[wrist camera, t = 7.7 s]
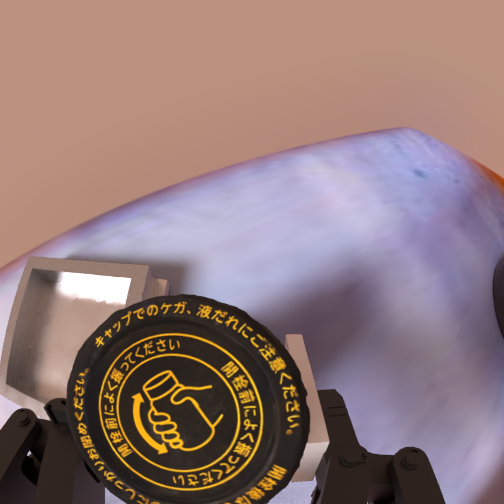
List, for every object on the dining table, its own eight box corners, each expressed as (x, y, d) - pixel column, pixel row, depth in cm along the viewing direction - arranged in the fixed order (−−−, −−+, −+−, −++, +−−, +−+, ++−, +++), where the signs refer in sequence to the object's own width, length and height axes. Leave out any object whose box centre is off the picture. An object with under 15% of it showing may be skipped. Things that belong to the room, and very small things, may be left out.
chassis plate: (169, 284, 22) (159, 264, 19) (151, 446, 15) (134, 453, 12) (43, 271, 22) (25, 254, 19) (16, 396, 15) (-8, 389, 12)
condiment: (297, 370, 15) (382, 298, 5) (259, 492, 11) (270, 616, 1) (186, 339, 17) (91, 224, 6) (146, 454, 12) (1, 487, 2)
